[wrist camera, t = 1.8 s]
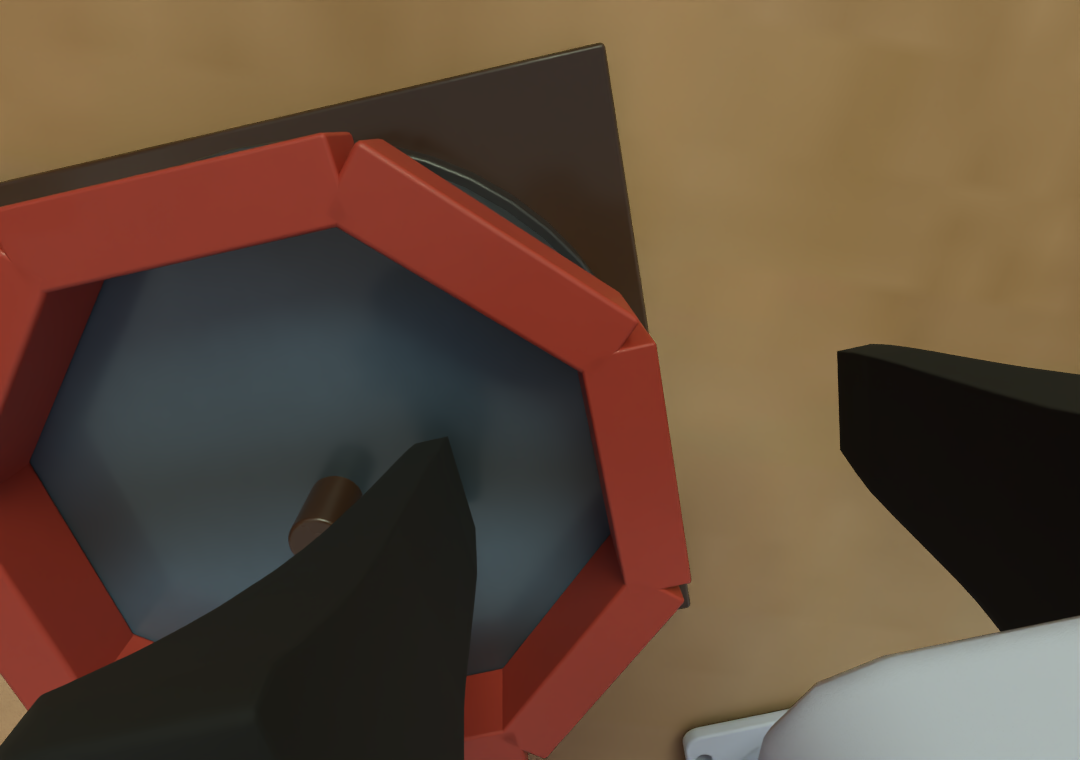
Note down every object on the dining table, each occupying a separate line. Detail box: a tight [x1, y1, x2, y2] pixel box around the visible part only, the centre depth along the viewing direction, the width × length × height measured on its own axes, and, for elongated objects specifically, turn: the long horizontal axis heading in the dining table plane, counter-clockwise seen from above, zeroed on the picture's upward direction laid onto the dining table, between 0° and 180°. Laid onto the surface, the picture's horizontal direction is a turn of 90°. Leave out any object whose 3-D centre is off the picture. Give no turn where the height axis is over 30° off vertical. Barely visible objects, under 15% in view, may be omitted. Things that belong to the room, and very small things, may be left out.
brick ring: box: [0, 132, 691, 760], centre depth 11 cm, size 12×12×2 cm
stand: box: [0, 43, 690, 676], centre depth 13 cm, size 14×14×5 cm
